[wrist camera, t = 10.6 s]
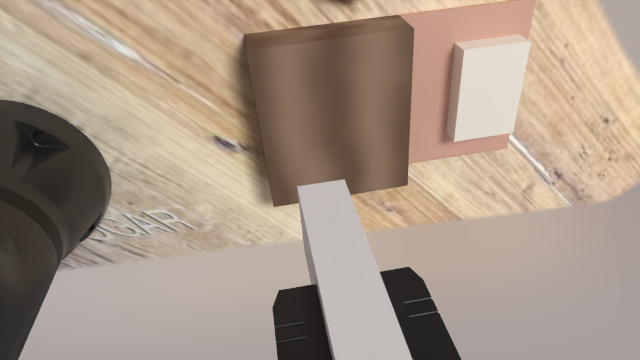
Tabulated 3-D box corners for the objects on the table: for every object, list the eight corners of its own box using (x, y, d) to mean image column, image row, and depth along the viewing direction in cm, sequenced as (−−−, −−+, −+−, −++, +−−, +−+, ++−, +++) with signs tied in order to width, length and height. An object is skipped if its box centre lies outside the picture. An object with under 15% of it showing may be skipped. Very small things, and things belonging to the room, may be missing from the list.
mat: (395, 163, 46) (396, 165, 46) (398, 14, 37) (400, 16, 37) (504, 146, 47) (506, 148, 47) (533, -3, 38) (535, -2, 38)
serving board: (270, 182, 45) (273, 206, 42) (244, 34, 36) (245, 50, 33) (395, 163, 46) (407, 185, 43) (398, 14, 37) (414, 28, 34)
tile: (513, 132, 43) (502, 123, 45) (531, 41, 38) (519, 34, 40) (453, 141, 43) (446, 131, 44) (464, 50, 38) (454, 42, 39)
